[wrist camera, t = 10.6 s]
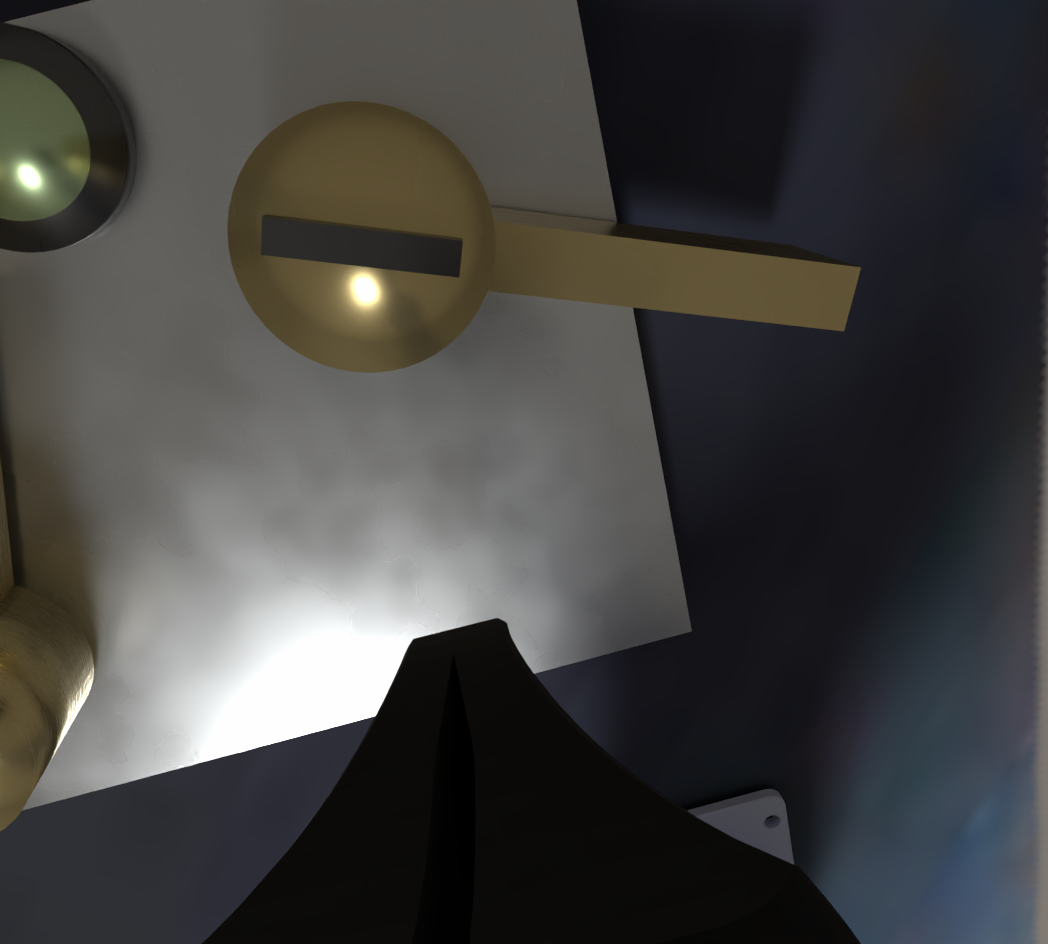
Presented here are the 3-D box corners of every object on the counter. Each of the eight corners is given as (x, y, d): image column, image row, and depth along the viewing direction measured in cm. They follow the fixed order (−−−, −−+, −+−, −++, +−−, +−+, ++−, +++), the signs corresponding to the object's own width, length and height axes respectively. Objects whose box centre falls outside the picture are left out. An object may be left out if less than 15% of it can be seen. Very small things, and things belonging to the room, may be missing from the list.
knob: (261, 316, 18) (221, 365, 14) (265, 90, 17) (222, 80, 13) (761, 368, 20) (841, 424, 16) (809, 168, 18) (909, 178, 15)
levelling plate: (678, 607, 24) (750, 738, 19) (-29, 796, 23) (-152, 982, 18) (546, -100, 17) (601, -193, 12) (-444, 146, 17) (-816, 156, 12)
